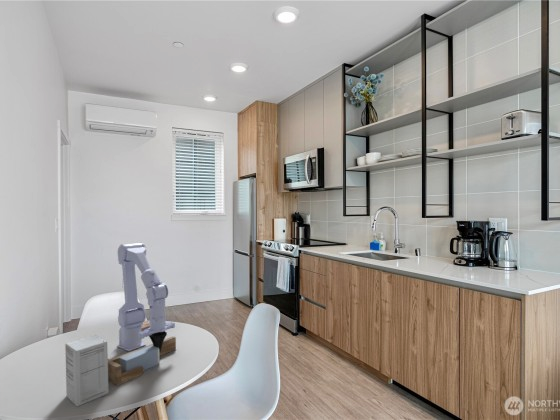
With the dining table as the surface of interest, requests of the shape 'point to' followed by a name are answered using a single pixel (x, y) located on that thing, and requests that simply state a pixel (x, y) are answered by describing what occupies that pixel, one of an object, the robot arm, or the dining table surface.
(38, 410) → the dining table surface
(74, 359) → the supplement box
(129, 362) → the boxed book
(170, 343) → the brown wooden rack
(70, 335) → the dining table surface
